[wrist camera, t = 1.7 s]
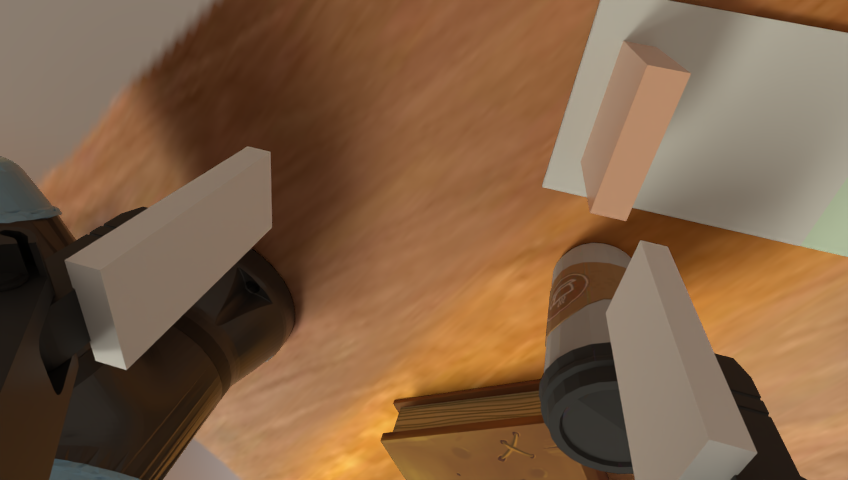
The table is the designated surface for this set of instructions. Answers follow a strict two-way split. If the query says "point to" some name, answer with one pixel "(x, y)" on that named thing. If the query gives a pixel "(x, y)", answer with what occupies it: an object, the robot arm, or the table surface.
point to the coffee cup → (585, 360)
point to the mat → (729, 121)
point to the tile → (630, 127)
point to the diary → (479, 437)
